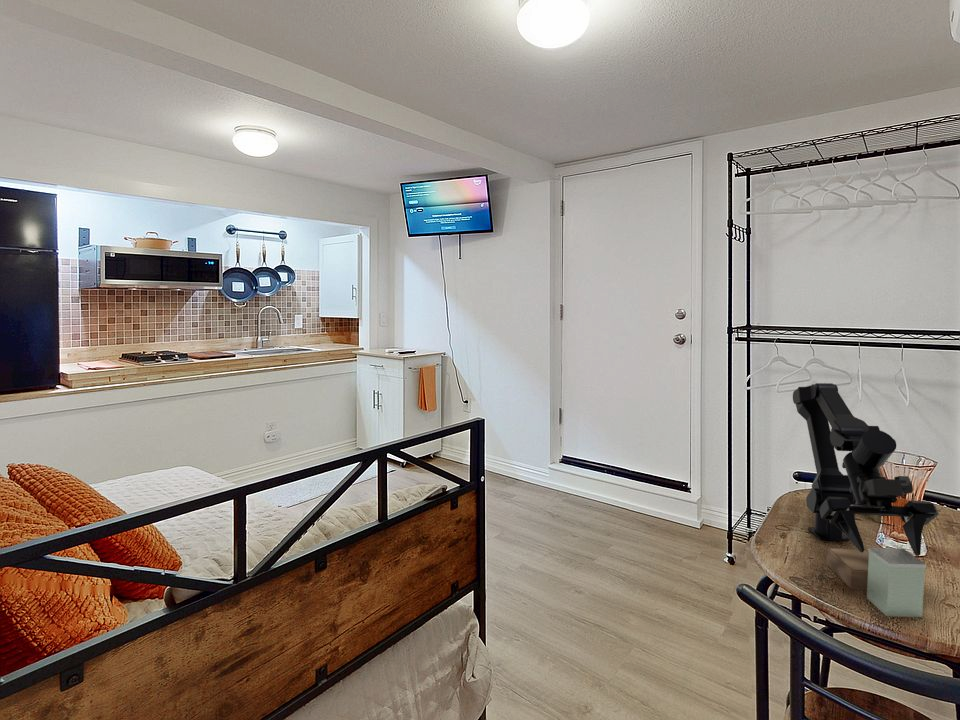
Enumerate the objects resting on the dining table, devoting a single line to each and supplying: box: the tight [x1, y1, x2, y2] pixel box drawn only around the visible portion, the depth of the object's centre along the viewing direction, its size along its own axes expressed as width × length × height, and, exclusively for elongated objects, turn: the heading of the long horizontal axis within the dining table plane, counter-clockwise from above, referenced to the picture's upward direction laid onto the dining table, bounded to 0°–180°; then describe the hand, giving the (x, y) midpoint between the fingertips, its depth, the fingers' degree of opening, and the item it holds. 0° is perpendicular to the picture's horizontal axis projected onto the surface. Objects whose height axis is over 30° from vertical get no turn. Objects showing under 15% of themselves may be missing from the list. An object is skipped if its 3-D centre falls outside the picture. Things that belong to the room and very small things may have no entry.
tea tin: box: [866, 547, 927, 618], centre depth 100 cm, size 6×6×10 cm
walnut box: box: [825, 547, 869, 591], centre depth 111 cm, size 10×10×4 cm
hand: (890, 553), depth 101 cm, fingers open, 9 cm apart
